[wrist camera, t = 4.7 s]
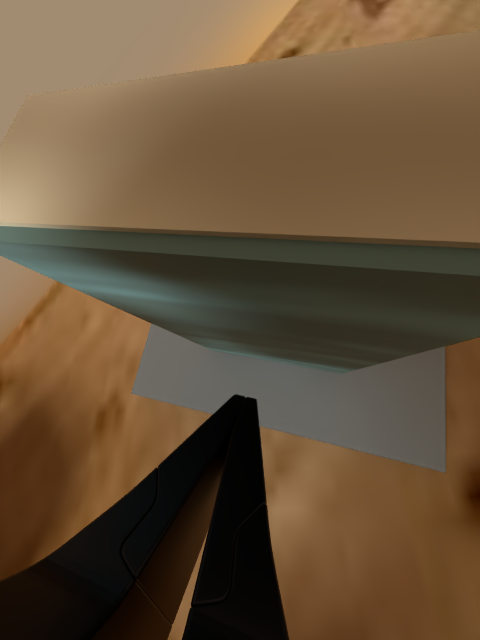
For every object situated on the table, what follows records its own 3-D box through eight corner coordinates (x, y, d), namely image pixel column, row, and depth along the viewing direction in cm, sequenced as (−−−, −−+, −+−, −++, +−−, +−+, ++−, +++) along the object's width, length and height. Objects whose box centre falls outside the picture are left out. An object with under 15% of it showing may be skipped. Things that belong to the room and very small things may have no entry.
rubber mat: (437, 467, 13) (445, 472, 13) (137, 393, 19) (131, 393, 18) (438, 137, 19) (444, 127, 18) (206, 149, 24) (204, 141, 23)
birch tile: (343, 374, 15) (696, 285, 2) (211, 350, 17) (-48, 235, 4) (347, 324, 16) (624, 8, 3) (221, 308, 18) (27, 95, 5)
